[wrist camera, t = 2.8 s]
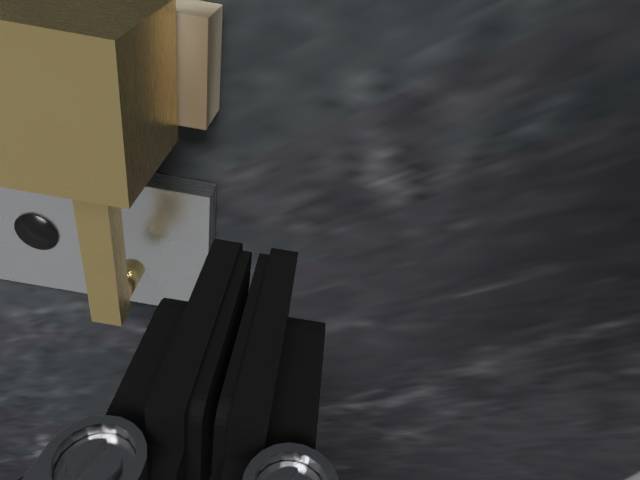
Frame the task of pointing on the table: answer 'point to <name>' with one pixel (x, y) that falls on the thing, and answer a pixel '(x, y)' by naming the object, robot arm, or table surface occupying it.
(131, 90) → the sliding leg
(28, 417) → the table surface
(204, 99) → the divider rail
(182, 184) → the bolt plate
